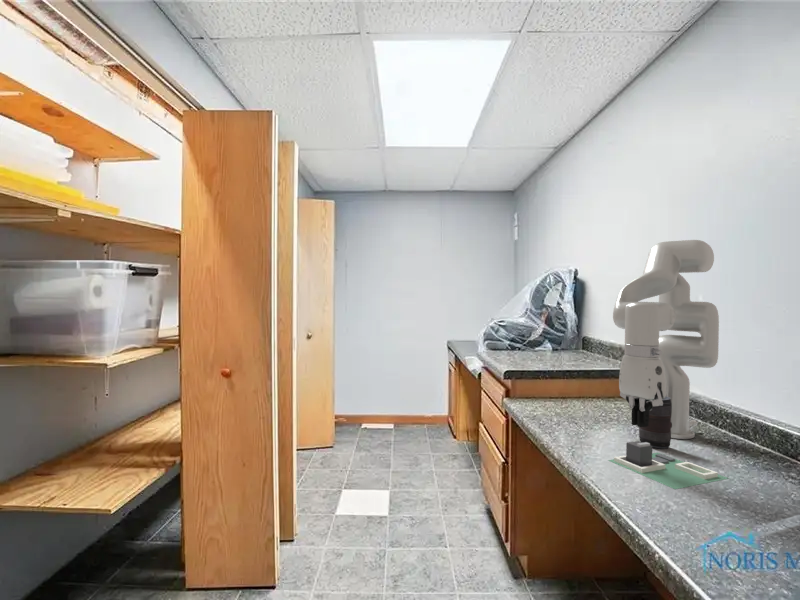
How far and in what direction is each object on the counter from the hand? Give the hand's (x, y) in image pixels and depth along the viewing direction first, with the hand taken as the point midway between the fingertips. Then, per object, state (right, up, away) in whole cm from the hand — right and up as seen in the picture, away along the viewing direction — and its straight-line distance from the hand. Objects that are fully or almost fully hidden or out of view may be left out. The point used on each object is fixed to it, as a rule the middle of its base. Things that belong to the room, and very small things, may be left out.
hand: (639, 425), depth 108 cm
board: (+5, -11, -2) cm, 12 cm away
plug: (0, -10, 0) cm, 10 cm away
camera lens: (+13, -12, +16) cm, 23 cm away
